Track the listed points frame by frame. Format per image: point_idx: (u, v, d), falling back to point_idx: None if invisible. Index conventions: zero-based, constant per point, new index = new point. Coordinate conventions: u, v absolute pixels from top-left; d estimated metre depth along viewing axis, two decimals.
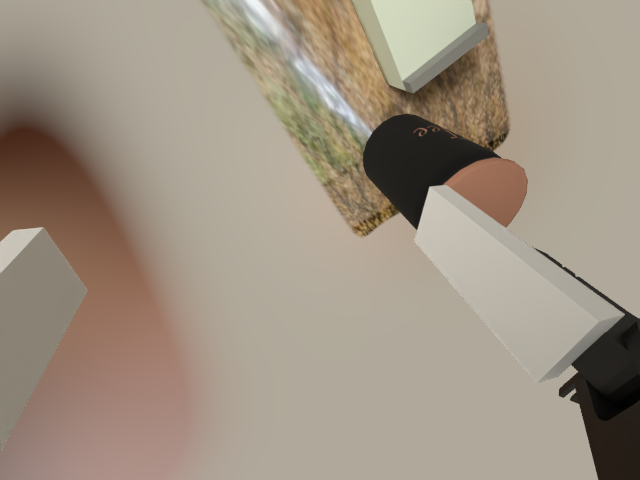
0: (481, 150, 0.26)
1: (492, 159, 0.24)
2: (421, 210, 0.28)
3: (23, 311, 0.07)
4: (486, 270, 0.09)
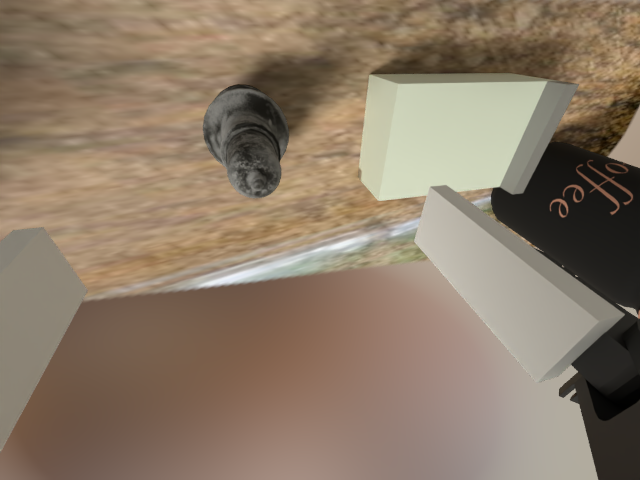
0: None
1: None
2: (628, 306, 0.24)
3: (23, 311, 0.07)
4: (486, 270, 0.09)
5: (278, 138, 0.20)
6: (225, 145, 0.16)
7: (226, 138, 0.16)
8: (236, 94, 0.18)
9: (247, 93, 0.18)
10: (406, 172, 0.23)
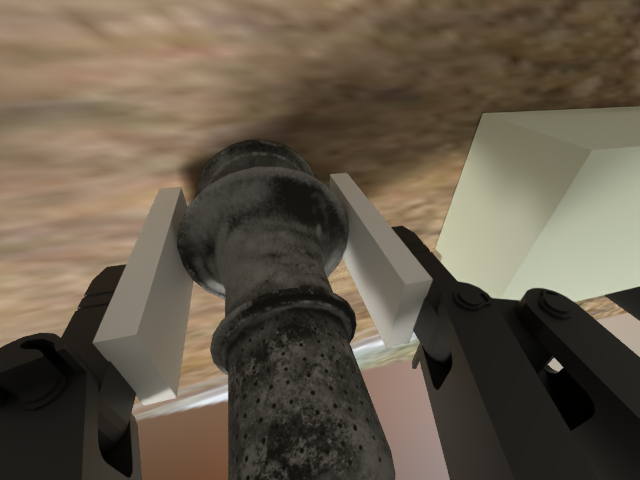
0: None
1: None
2: None
3: None
4: (358, 248, 0.09)
5: (330, 251, 0.10)
6: (224, 345, 0.06)
7: (228, 333, 0.06)
8: (249, 181, 0.08)
9: (273, 177, 0.08)
10: (542, 282, 0.13)
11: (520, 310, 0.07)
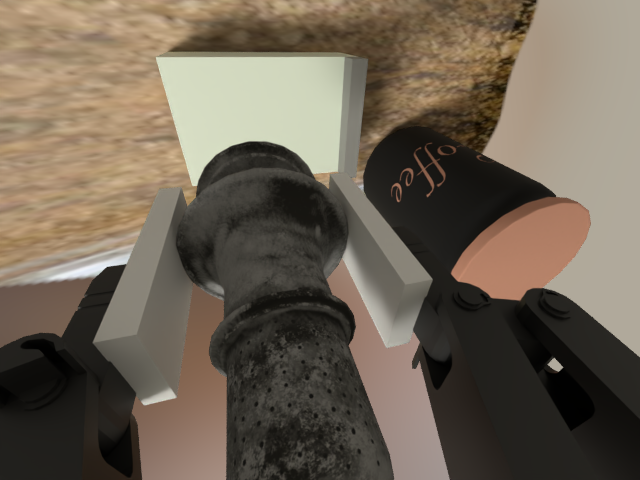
0: (464, 217, 0.19)
1: (479, 241, 0.18)
2: None
3: None
4: (358, 248, 0.09)
5: (329, 252, 0.10)
6: (222, 347, 0.06)
7: (226, 335, 0.06)
8: (248, 182, 0.08)
9: (272, 179, 0.08)
10: (212, 154, 0.22)
11: (519, 310, 0.07)
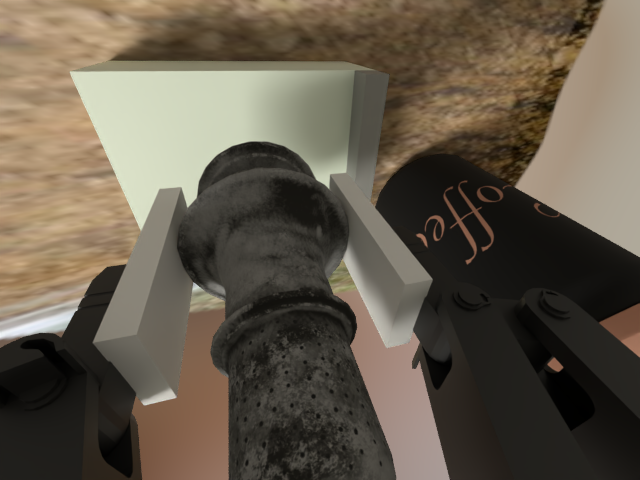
0: None
1: None
2: None
3: None
4: (358, 248, 0.09)
5: (330, 252, 0.10)
6: (224, 348, 0.06)
7: (228, 335, 0.06)
8: (249, 182, 0.08)
9: (274, 179, 0.08)
10: None
11: (520, 310, 0.07)
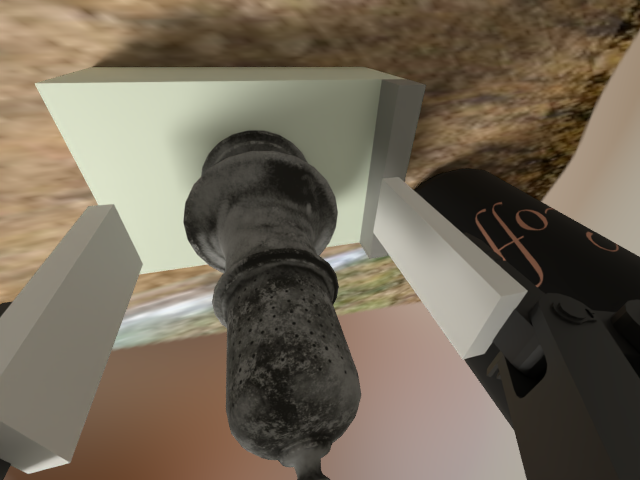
0: None
1: None
2: None
3: (105, 273, 0.08)
4: (424, 256, 0.09)
5: (320, 229, 0.11)
6: (224, 297, 0.07)
7: (226, 285, 0.07)
8: (246, 163, 0.09)
9: (268, 160, 0.09)
10: (164, 231, 0.14)
11: (618, 318, 0.06)
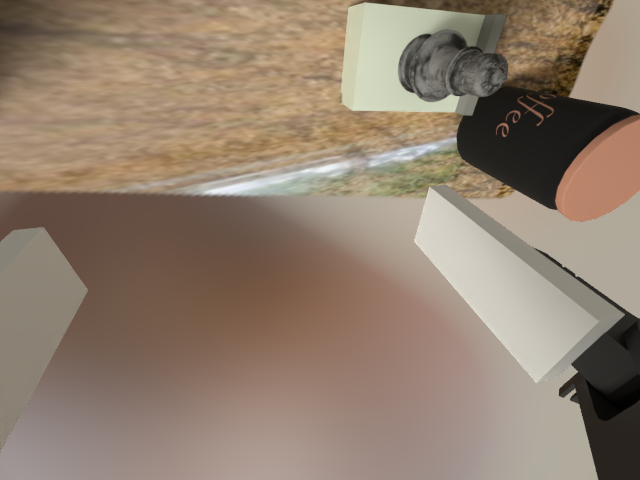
0: (577, 131, 0.26)
1: (594, 143, 0.24)
2: (552, 204, 0.30)
3: (23, 311, 0.07)
4: (486, 270, 0.09)
5: None
6: (455, 62, 0.23)
7: (457, 57, 0.22)
8: (446, 33, 0.25)
9: (453, 33, 0.25)
10: (374, 85, 0.29)
11: None
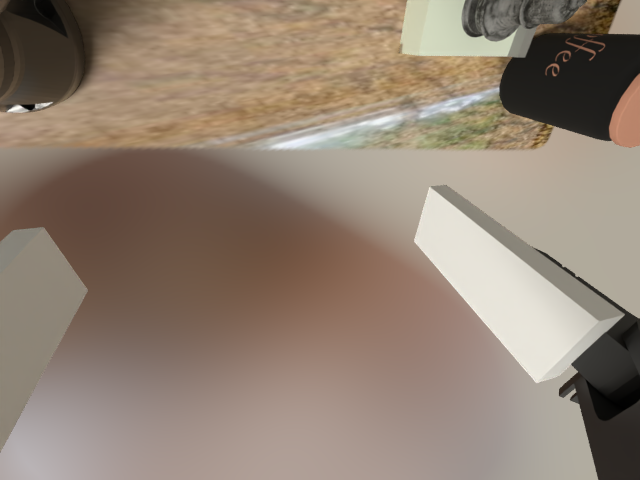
0: (632, 58, 0.29)
1: None
2: (603, 133, 0.33)
3: (23, 311, 0.07)
4: (486, 270, 0.09)
5: None
6: None
7: None
8: None
9: None
10: (440, 29, 0.32)
11: None
